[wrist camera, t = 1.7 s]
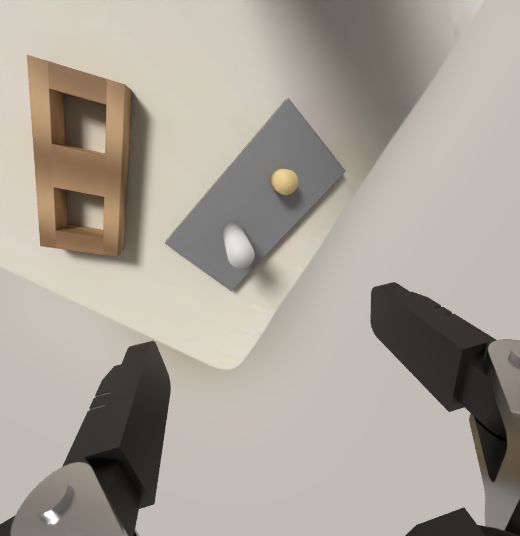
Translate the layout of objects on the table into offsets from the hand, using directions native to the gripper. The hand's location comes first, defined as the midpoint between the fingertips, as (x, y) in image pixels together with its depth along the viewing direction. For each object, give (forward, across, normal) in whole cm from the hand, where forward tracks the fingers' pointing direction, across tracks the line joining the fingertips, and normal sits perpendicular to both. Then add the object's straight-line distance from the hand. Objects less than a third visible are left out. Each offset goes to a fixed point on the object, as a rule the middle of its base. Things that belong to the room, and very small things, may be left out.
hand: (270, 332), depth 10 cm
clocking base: (+17, -3, -1) cm, 17 cm away
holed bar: (+17, +10, -7) cm, 21 cm away
